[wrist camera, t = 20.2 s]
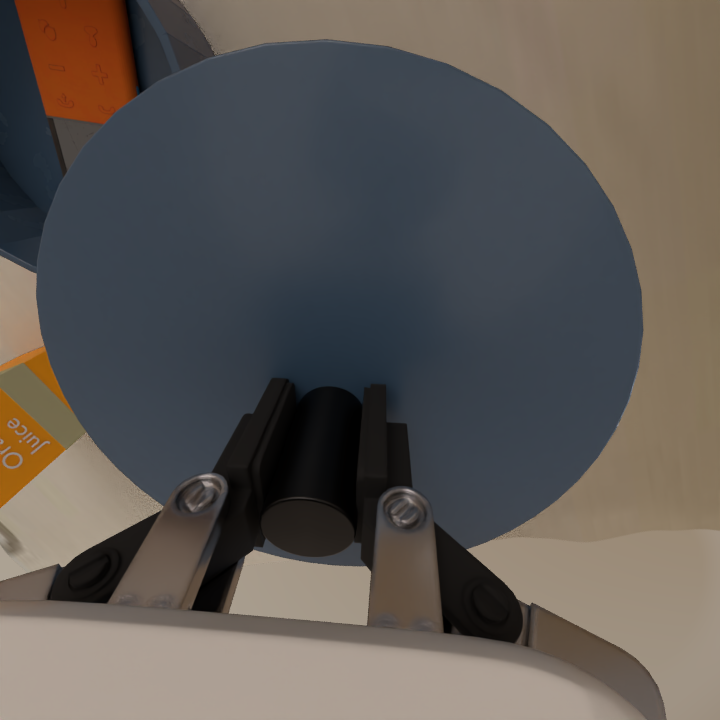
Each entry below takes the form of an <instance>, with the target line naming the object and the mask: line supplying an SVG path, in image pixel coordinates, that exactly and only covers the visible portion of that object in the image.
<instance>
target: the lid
mask: <svg viewBox="0 0 720 720" xmlns="http://www.w3.org/2000/svg"><path fill="white" fill-rule="evenodd" d="M36 300H37V307H38V314H39V322H40V329H41V335H42V338H43V341H44V345H45V348H46V352H47V355H48V359H49V362H50V366H51V368H52V370H53V373H54V375H55V377H56V379H57V382H58V384H59V386H60V388H61V391H62V393H63V395H64V397H65V399H66V400H67V402H68V404H69V406H70V407H71V409H72V411H73V412H74V414H75V416H76V417H77V419H78V421H79V422H80V424H81V425H82V427H83V428H84V429H85V431H86V432H87V433H88V435H89V436H90V437H91V439H92V440H93V441H94V443H95V444H96V445H97V447H98V448H99V449H100V450H101V451H102V452H103V453H104V454H105V455H106V456H107V457H108V459H109V460H110V461H111V462H112V463H113V464H114V465H115V466H116V467H117V468H118V469H119V470H120V471H121V472H122V473H123V474H124V475H125V476H126V477H128V478H129V479H130V480H131V481H132V482H133V483H134V484H135V485H137V486H138V487H139V488H140V489H141V490H143V491H144V492H145V493H147V494H148V495H149V496H151V497H152V498H153V499H155V500H156V501H157V502H159V503H160V504H161V505H163V506H164V505H165V504H166V502H167V500H168V499H169V497H170V495H171V493H172V492H173V491H174V489H175V488H176V487H177V486H178V485H179V484H180V483H181V482H183V481H184V480H186V479H187V478H189V477H191V476H193V475H197V474H200V473H207V472H212V470H213V469H214V467H215V465H216V463H217V461H218V460H219V458H220V456H221V454H222V452H223V451H224V449H225V447H226V445H227V443H228V442H229V440H230V438H231V436H232V434H233V433H234V431H235V429H236V427H237V425H238V424H239V422H240V420H241V418H242V417H243V415H244V414H246V413H250V414H253V413H254V411H255V409H256V407H257V405H258V403H259V401H260V399H261V397H262V395H263V394H264V392H265V390H266V388H267V386H268V384H269V382H270V380H271V379H272V378H286V379H289V382H290V383H294V385H295V395H296V407H297V411H296V414H295V417H294V420H293V423H292V426H291V428H290V431H289V434H288V437H287V440H286V443H285V446H284V449H283V451H282V454H281V457H280V460H279V463H278V466H277V469H276V472H275V474H274V477H273V480H272V483H271V486H270V489H269V492H268V494H267V497H266V500H265V503H264V506H263V509H262V512H261V515H260V518H259V524H260V529H261V531H262V533H263V535H264V536H265V538H266V540H265V543H264V546H263V547H254V548H253V549H254V550H257V551H260V552H264V553H268V554H271V555H275V556H279V557H283V558H288V559H293V560H299V561H304V562H310V563H318V564H327V565H339V566H366V565H365V564H364V563H363V561H362V560H361V559H360V558H361V543H354V539H355V536H356V530H357V516H358V514H357V508H356V481H357V466H358V454H359V443H360V431H361V419H362V408H363V396H364V387H367V388H370V386H371V384H386V419H387V422H392V423H406V424H407V430H408V441H409V452H410V463H411V474H412V485H413V488H414V489H416V490H418V491H420V492H421V493H422V494H423V495H424V496H425V497H427V499H428V501H429V502H430V504H431V506H432V510H433V518H434V522H435V523H436V524H438V525H439V526H440V527H441V528H442V529H443V530H444V531H446V532H447V533H448V534H449V535H450V536H451V537H452V538H453V539H455V540H456V541H457V542H458V543H459V544H460V545H461V546H463V547H464V548H465V549H469V548H471V547H474V546H477V545H480V544H483V543H485V542H488V541H490V540H492V539H494V538H496V537H498V536H501V535H503V534H505V533H507V532H509V531H511V530H513V529H514V528H516V527H518V526H520V525H521V524H523V523H525V522H526V521H528V520H530V519H531V518H533V517H535V516H536V515H537V514H539V513H540V512H541V511H543V510H544V509H546V508H547V507H548V506H550V505H551V504H552V503H554V502H555V501H556V500H558V499H559V498H560V497H561V496H562V495H563V494H564V493H565V492H566V491H567V490H568V489H570V488H571V487H572V486H573V485H574V484H575V483H576V482H577V481H578V480H579V479H580V478H581V477H582V476H583V474H584V473H585V472H586V471H587V470H588V468H589V467H590V466H591V465H592V464H593V463H594V461H595V460H596V459H597V458H598V457H599V455H600V453H601V452H602V450H603V449H604V447H605V446H606V444H607V443H608V441H609V440H610V438H611V436H612V435H613V433H614V432H615V430H616V428H617V426H618V424H619V422H620V419H621V417H622V415H623V413H624V411H625V409H626V406H627V404H628V402H629V399H630V396H631V393H632V389H633V386H634V382H635V379H636V375H637V372H638V368H639V362H640V353H641V345H642V337H643V315H642V295H641V287H640V283H639V279H638V274H637V270H636V266H635V261H634V257H633V252H632V248H631V246H630V244H629V241H628V239H627V237H626V234H625V232H624V230H623V227H622V225H621V223H620V220H619V218H618V216H617V213H616V211H615V209H614V206H613V205H612V203H611V202H610V200H609V199H608V197H607V196H606V194H605V193H604V191H603V189H602V188H601V186H600V185H599V183H598V182H597V180H596V179H595V177H594V176H593V174H592V173H591V171H590V170H589V168H588V167H587V165H586V164H585V163H584V162H583V161H582V160H581V158H580V157H579V156H578V155H577V154H576V153H575V152H574V151H573V150H572V149H571V148H570V147H569V146H568V145H567V144H566V143H565V142H564V141H563V140H562V139H561V138H560V136H559V135H558V134H557V133H556V132H555V131H554V130H553V129H552V128H551V127H550V126H549V125H548V124H547V123H545V122H544V121H543V120H541V119H540V118H539V117H537V116H536V115H534V114H533V113H532V112H530V111H529V110H528V109H526V108H525V107H524V106H522V105H521V104H519V103H518V102H517V101H515V100H514V99H513V98H511V97H510V96H509V95H507V94H506V93H504V92H503V91H502V90H500V89H498V88H496V87H494V86H492V85H490V84H488V83H486V82H484V81H482V80H480V79H477V78H475V77H473V76H471V75H469V74H467V73H465V72H463V71H461V70H459V69H457V68H455V67H453V66H451V65H449V64H447V63H443V62H440V61H437V60H433V59H430V58H426V57H423V56H420V55H416V54H413V53H409V52H406V51H403V50H399V49H396V48H392V47H389V46H381V45H372V44H364V43H355V42H346V41H337V40H328V39H324V40H308V41H293V42H277V43H265V44H261V45H257V46H253V47H249V48H245V49H241V50H237V51H233V52H229V53H225V54H221V55H217V56H213V57H209V58H207V59H204V60H202V61H200V62H198V63H196V64H194V65H191V66H189V67H187V68H185V69H183V70H181V71H178V72H176V73H174V74H172V75H170V76H168V77H165V78H163V79H161V80H159V81H157V82H156V83H155V84H153V85H152V86H150V87H149V88H148V89H146V90H145V91H143V92H142V93H141V94H139V95H138V96H137V97H135V98H134V99H132V100H131V101H130V102H128V103H127V104H125V105H124V106H123V107H121V108H120V109H118V110H117V111H116V112H115V113H114V114H113V115H112V116H111V117H110V118H109V119H108V120H107V121H106V123H105V124H104V125H103V126H102V127H101V128H100V129H99V130H98V131H97V132H96V133H95V134H94V135H93V136H92V137H91V138H90V140H89V141H88V142H87V143H86V144H85V145H84V146H83V147H82V149H81V151H80V152H79V154H78V155H77V157H76V158H75V160H74V162H73V163H72V165H71V166H70V168H69V170H68V171H67V173H66V174H65V176H64V178H63V179H62V181H61V182H60V184H59V186H58V189H57V192H56V194H55V197H54V199H53V202H52V204H51V207H50V210H49V212H48V215H47V217H46V220H45V222H44V227H43V233H42V238H41V243H40V248H39V253H38V259H37V286H36Z"/></svg>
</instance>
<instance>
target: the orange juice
mask: <svg viewBox="0 0 720 720" xmlns="http://www.w3.org/2000/svg"><path fill="white" fill-rule="evenodd" d="M85 433H86V431H85V429H84V428H83V427H82V425H81V424H80V422H79V421H78V419H77V417H76V416H75V414H74V412H73V411H72V409H71V407H70V406H69V404H68V402H67V400H66V399H65V397H64V395H63V393H62V391H61V388H60V386H59V384H58V382H57V379H56V377H55V375H54V373H53V370H52V368H51V366H50V362H49V359H48V355H47V352H46V348H45V346H44V347H41V348H39V349H36V350H34V351H31V352H29V353H26V354H24V355H21V356H19V357H17V358H15V359H13V360H11V361H9V362H7V363H5V364H3V365H1V366H0V508H1V507H2V506H3V505H4V504H6V503H7V502H8V501H9V500H10V499H11V498H12V497H13V496H14V495H16V494H17V493H18V492H19V491H20V490H21V489H22V488H23V487H25V486H26V485H27V484H28V483H29V482H30V481H31V480H32V479H33V478H35V477H36V476H37V475H38V474H39V473H40V472H41V471H42V470H44V469H45V468H46V467H47V466H48V465H49V464H50V463H51V462H52V461H54V460H55V459H56V458H57V457H58V456H59V455H60V454H61V453H63V452H64V451H65V450H67V449H68V448H69V447H70V446H71V445H72V444H73V443H75V442H76V441H77V440H78V439H79V438H80V437H81V436H82V435H83V434H85Z"/></svg>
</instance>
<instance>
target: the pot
mask: <svg viewBox="0 0 720 720" xmlns="http://www.w3.org/2000/svg"><path fill="white" fill-rule="evenodd" d="M125 3H126V9H127V15H128V22H129V28H130V34H131V41H132V47H133V53H134V60H135V66H136V72H137V79H138V85H139V91H140V94H141V93H142V92H143V91H145V90H146V89H148V88H149V87H150V86H152V85H153V84H155V83H156V82H157V81H159V80H161V79H163V78H165V77H168V76H170V75H172V74H174V73H176V72H178V71H181V70H183V69H185V68H187V67H189V66H191V65H194V64H196V63H198V62H200V61H202V60H204V59H207V58H209V57H213V56H215V55H214V53H213V51H212V49H211V47H210V45H209V43H208V42H207V40H206V38H205V37H204V35H203V33H202V32H201V30H200V29H199V27H198V25H197V24H196V22H195V21H194V19H193V18H192V17H191V15H190V14H189V13H188V11H187V10H186V9H185V7H184V6H183V5H182V3H181V2H180V1H179V0H125ZM62 179H63V174H62V171H61V167H60V163H59V160H58V156H57V153H56V149H55V145H54V142H53V138H52V135H51V131H50V127H49V124H48V120H47V117H46V113H45V109H44V106H43V102H42V99H41V95H40V91H39V88H38V84H37V80H36V77H35V73H34V70H33V66H32V62H31V59H30V55H29V52H28V48H27V44H26V41H25V37H24V34H23V30H22V26H21V23H20V19H19V16H18V12H17V8H16V5H15V1H14V0H0V255H1V256H2V257H4V258H6V259H8V260H10V261H12V262H14V263H16V264H18V265H20V266H22V267H24V268H26V269H28V270H29V271H31V272H34V273H37V259H38V253H39V248H40V243H41V238H42V233H43V227H44V222H45V220H46V217H47V215H48V212H49V210H50V207H51V204H52V202H53V199H54V197H55V194H56V192H57V189H58V186H59V184H60V182H61V181H62Z"/></svg>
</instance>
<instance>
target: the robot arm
mask: <svg viewBox="0 0 720 720" xmlns="http://www.w3.org/2000/svg"><path fill="white" fill-rule="evenodd" d="M296 411H297V407H296V395H295V385H294V383H290V382H289V379H286V378H272V379H271V380H270V382H269V384H268V386H267V388H266V390H265V392H264V394H263V395H262V397H261V399H260V401H259V403H258V405H257V407H256V409H255V411H254V413H253V414H250V413H246V414H244V415H243V417H242V418H241V420H240V422H239V424H238V425H237V427H236V429H235V431H234V433H233V434H232V436H231V438H230V440H229V442H228V443H227V445H226V447H225V449H224V451H223V452H222V454H221V456H220V458H219V460H218V461H217V463H216V465H215V467H214V469H213V470H212V472H207V473H200V474H197V475H193V476H191V477H189V478H187V479H186V480H184V481H183V482H181V483H180V484H179V485H178V486H177V487H176V488H175V489H174V491H173V492H172V493H171V495H170V497H169V499H168V500H167V502H166V504H165V505H164V507H163V509H162V510H161V511H159V512H157V513H156V514H154V515H152V516H150V517H148V518H146V519H144V520H142V521H140V522H139V523H137V524H135V525H133V526H131V527H129V528H127V529H125V530H123V531H122V532H120V533H118V534H116V535H114V536H112V537H110V538H108V539H106V540H105V541H103V542H101V543H99V544H97V545H95V546H93V547H91V548H89V549H88V550H86V551H84V552H83V553H81V554H80V555H78V556H76V557H75V558H74V559H73V560H72V561H71V562H70V563H68V564H67V565H66V566H65V567H61V566H60V565H59V564H56V565H53V566H50V567H46V568H43V569H40V570H36V571H33V572H30V573H26V574H23V575H20V576H17V577H13V578H10V579H6V580H3V581H0V720H666V714H665V708H664V703H663V700H662V697H661V694H660V691H659V688H658V686H657V684H656V683H655V681H654V680H653V678H652V676H651V675H650V673H649V672H648V670H647V669H646V668H645V667H644V666H643V665H642V664H641V663H640V662H639V661H638V660H637V659H636V658H635V657H633V656H632V655H630V654H629V653H628V652H626V651H625V650H623V649H621V648H620V647H617V646H616V645H614V644H612V643H610V642H608V641H606V640H604V639H602V638H600V637H598V636H596V635H594V634H592V633H590V632H588V631H587V630H585V629H583V628H581V627H579V626H577V625H575V624H573V623H571V622H569V621H567V620H565V619H563V618H561V617H559V616H557V615H555V614H553V613H551V612H550V611H548V610H546V609H544V608H542V607H540V606H538V605H536V604H533V603H531V605H530V606H529V605H527V604H525V603H523V602H521V601H519V600H517V599H516V597H515V595H514V593H513V592H512V591H511V590H510V589H509V588H508V586H507V585H505V583H504V582H503V581H501V580H500V579H499V578H498V577H497V576H496V575H495V574H493V573H492V572H491V571H490V570H489V569H488V568H487V567H485V566H484V565H483V564H482V563H481V562H480V561H479V560H477V559H476V558H475V557H474V556H473V555H472V554H471V553H469V552H468V551H467V550H466V549H465V548H464V547H463V546H461V545H460V544H459V543H458V542H457V541H456V540H455V539H453V538H452V537H451V536H450V535H449V534H448V533H447V532H446V531H444V530H443V529H442V528H441V527H440V526H439V525H438V524H436V523H435V522H434V518H433V510H432V506H431V504H430V502H429V501H428V499H427V497H425V496H424V495H423V494H422V493H421V492H420V491H418V490H416V489H414V488H413V485H412V474H411V463H410V452H409V441H408V430H407V424H406V423H392V422H387V419H386V384H371V386H370V388H367V387H364V396H363V408H362V419H361V431H360V443H359V454H358V466H357V481H356V508H357V514H358V516H357V530H356V536H355V539H354V543H361V558H360V559H361V560H362V561H363V563H364V564H365V565H366V566H367V567H368V568H369V570H370V571H371V581H370V595H369V608H368V621H367V626H363V625H353V624H342V623H331V622H320V621H308V620H296V619H284V618H273V617H262V616H251V615H238V614H229V610H230V607H231V604H232V600H233V597H234V594H235V590H236V586H237V584H238V580H239V577H240V574H241V570H242V567H243V564H244V558H245V556H246V555H247V554H249V553H250V552H251V551H253V548H254V547H263V546H264V543H265V540H266V538H265V536H264V535H263V533H262V531H261V529H260V524H259V518H260V515H261V512H262V509H263V506H264V503H265V500H266V497H267V494H268V492H269V489H270V486H271V483H272V480H273V477H274V474H275V472H276V469H277V466H278V463H279V460H280V457H281V454H282V451H283V449H284V446H285V443H286V440H287V437H288V434H289V431H290V428H291V426H292V423H293V420H294V417H295V414H296Z"/></svg>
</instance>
